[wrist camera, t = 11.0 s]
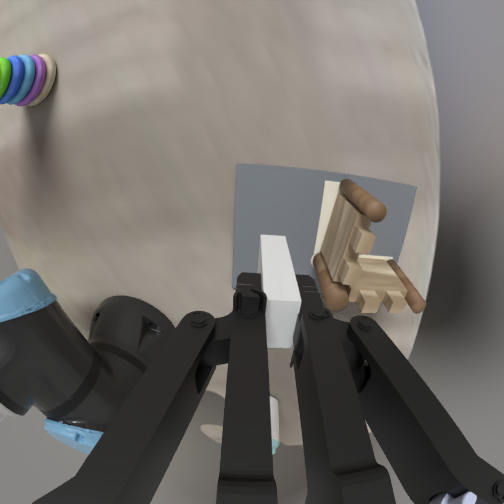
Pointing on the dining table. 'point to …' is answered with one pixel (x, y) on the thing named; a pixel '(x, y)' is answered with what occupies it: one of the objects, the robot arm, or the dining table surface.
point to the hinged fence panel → (350, 231)
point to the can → (274, 423)
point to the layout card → (308, 214)
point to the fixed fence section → (370, 287)
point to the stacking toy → (26, 79)
